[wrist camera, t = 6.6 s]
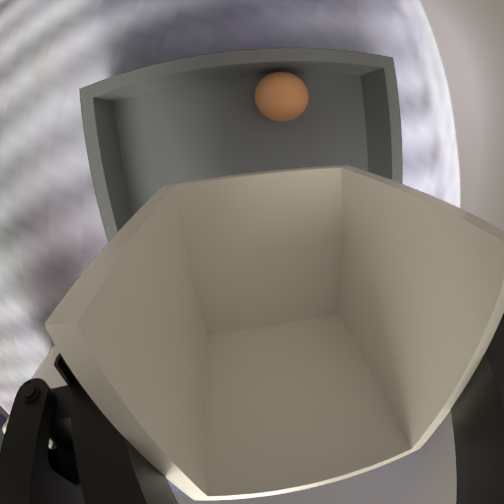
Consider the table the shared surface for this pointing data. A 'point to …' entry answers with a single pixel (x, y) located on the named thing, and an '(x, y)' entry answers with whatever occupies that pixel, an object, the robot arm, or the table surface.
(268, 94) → the ball
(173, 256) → the cream open-top bin
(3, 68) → the table surface
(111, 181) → the tray
